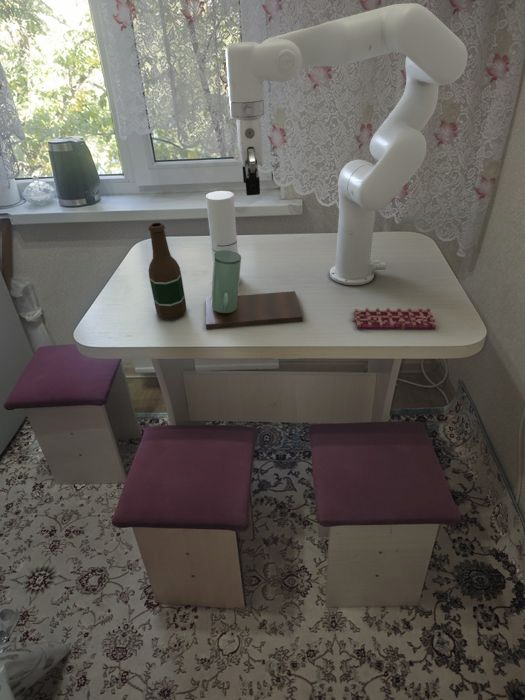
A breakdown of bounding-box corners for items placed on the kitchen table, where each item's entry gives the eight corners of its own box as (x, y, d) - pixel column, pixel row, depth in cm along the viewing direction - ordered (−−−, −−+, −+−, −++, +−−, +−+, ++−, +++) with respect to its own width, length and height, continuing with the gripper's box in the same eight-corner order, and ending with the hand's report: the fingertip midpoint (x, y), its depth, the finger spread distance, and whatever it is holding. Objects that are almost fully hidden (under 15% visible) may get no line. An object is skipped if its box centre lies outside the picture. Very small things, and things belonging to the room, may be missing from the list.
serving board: (294, 295, 124) (294, 291, 123) (302, 321, 113) (302, 316, 112) (206, 302, 122) (206, 298, 121) (206, 329, 112) (205, 324, 111)
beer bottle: (173, 324, 114) (157, 233, 100) (150, 316, 118) (131, 227, 103) (193, 310, 119) (180, 221, 105) (170, 302, 123) (155, 216, 109)
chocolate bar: (351, 313, 115) (352, 306, 114) (427, 313, 114) (429, 306, 113) (354, 329, 110) (355, 322, 108) (435, 329, 108) (436, 322, 107)
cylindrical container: (236, 288, 128) (229, 200, 113) (212, 287, 129) (202, 199, 114) (242, 277, 134) (236, 191, 119) (219, 275, 135) (210, 190, 120)
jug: (236, 300, 120) (240, 251, 112) (238, 319, 112) (242, 267, 104) (211, 299, 119) (213, 249, 111) (211, 318, 111) (213, 265, 103)
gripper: (268, 115, 93) (271, 198, 103) (260, 102, 107) (263, 177, 117) (231, 117, 93) (238, 201, 103) (228, 104, 107) (234, 179, 117)
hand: (251, 188), depth 110 cm, fingers open, 9 cm apart
